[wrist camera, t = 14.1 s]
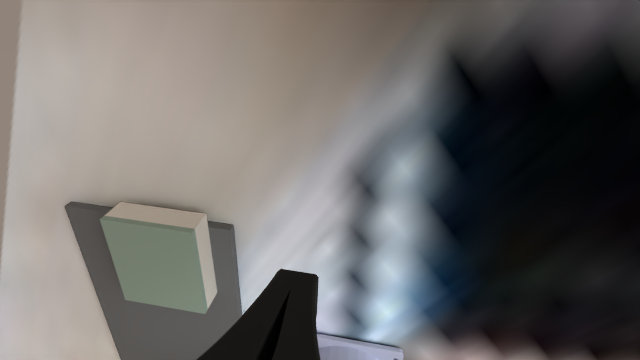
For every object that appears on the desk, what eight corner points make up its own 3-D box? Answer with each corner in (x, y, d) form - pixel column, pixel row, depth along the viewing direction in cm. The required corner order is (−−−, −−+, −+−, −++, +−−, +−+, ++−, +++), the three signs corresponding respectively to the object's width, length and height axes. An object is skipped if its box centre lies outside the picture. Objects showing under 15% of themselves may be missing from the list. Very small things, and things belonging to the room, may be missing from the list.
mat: (250, 398, 34) (247, 404, 34) (132, 373, 36) (128, 379, 35) (233, 224, 24) (229, 230, 24) (71, 201, 26) (64, 206, 25)
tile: (142, 279, 28) (217, 292, 27) (125, 299, 26) (205, 314, 25) (120, 201, 24) (206, 213, 23) (99, 219, 22) (191, 232, 22)
